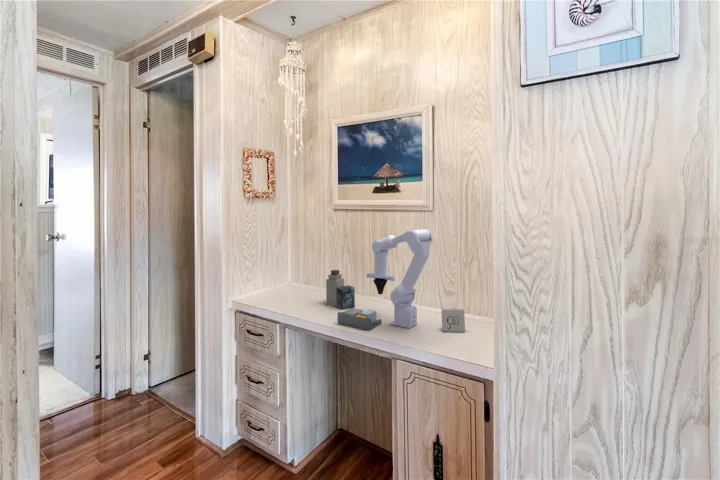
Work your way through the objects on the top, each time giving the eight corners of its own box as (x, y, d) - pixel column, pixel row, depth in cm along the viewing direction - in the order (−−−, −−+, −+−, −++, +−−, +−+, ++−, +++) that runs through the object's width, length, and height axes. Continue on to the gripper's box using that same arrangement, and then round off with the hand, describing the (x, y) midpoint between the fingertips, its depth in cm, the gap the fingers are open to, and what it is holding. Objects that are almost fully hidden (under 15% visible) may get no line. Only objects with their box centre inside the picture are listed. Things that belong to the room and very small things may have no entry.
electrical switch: (442, 332, 154) (442, 310, 153) (440, 329, 159) (440, 307, 159) (465, 332, 153) (465, 310, 153) (462, 329, 158) (462, 307, 158)
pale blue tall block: (376, 323, 165) (376, 310, 164) (368, 328, 159) (367, 314, 159) (368, 322, 167) (368, 309, 167) (360, 326, 161) (360, 313, 161)
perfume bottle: (344, 303, 197) (344, 270, 195) (337, 306, 191) (336, 272, 189) (334, 301, 201) (333, 268, 199) (326, 304, 195) (325, 270, 193)
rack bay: (381, 323, 164) (381, 311, 164) (369, 330, 156) (369, 318, 155) (350, 317, 174) (350, 306, 173) (337, 323, 165) (337, 311, 164)
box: (342, 310, 185) (341, 289, 184) (336, 307, 190) (336, 287, 189) (355, 307, 190) (354, 287, 189) (349, 304, 194) (349, 285, 193)
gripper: (362, 265, 174) (362, 293, 176) (390, 268, 166) (389, 298, 168) (370, 263, 180) (370, 290, 182) (397, 266, 172) (397, 294, 174)
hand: (380, 293), depth 175 cm, fingers closed
